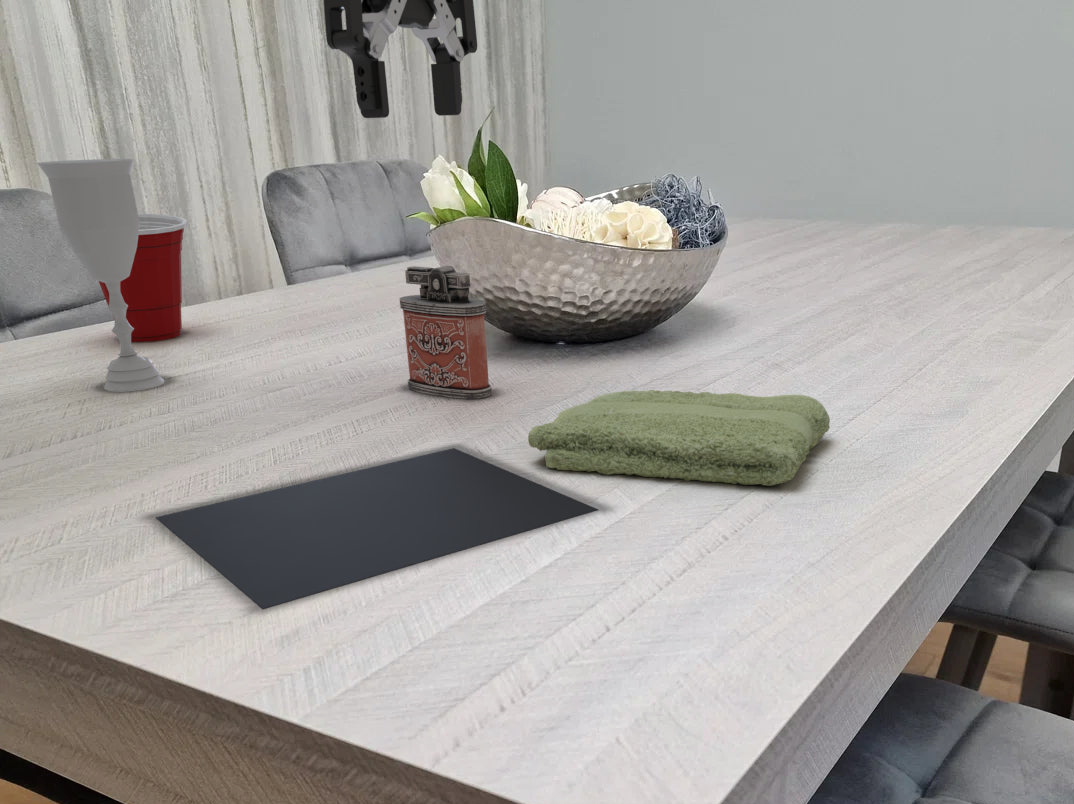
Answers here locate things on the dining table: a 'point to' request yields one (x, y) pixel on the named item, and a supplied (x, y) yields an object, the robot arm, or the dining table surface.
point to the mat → (364, 523)
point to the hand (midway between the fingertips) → (413, 116)
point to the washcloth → (686, 436)
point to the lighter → (445, 335)
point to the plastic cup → (154, 280)
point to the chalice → (104, 246)
